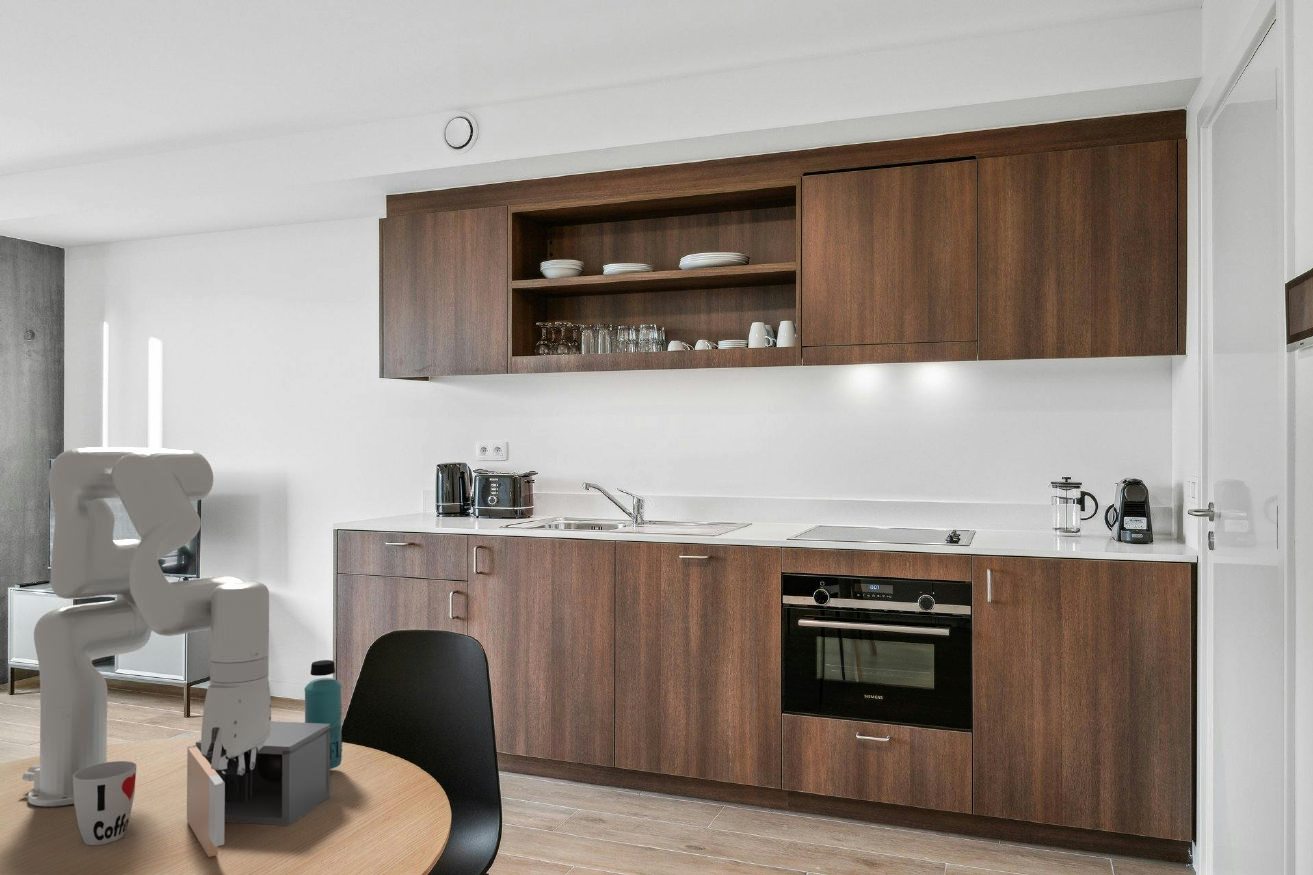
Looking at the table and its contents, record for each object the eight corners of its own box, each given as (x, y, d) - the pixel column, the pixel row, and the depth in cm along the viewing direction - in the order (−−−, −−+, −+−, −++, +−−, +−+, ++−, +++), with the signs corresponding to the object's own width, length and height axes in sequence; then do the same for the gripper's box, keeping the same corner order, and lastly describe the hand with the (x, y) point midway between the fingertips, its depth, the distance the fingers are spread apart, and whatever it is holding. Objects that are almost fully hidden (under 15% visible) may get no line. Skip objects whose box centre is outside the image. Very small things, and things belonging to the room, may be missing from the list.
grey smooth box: (195, 819, 138) (195, 742, 139) (242, 790, 150) (243, 719, 150) (289, 825, 136) (289, 746, 136) (330, 796, 148) (330, 723, 148)
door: (186, 818, 137) (186, 746, 138) (194, 816, 138) (195, 744, 138) (214, 867, 121) (215, 784, 121) (224, 864, 122) (224, 782, 122)
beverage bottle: (329, 780, 155) (329, 666, 155) (295, 778, 156) (295, 664, 156) (349, 768, 161) (349, 657, 162) (316, 765, 162) (317, 656, 163)
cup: (89, 854, 126) (89, 783, 126) (61, 841, 130) (61, 773, 131) (146, 833, 133) (147, 766, 133) (118, 822, 137) (119, 757, 138)
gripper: (247, 657, 134) (246, 779, 133) (180, 682, 119) (178, 819, 119) (293, 659, 133) (292, 782, 132) (231, 684, 118) (229, 823, 117)
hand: (238, 799), depth 125 cm, fingers closed
